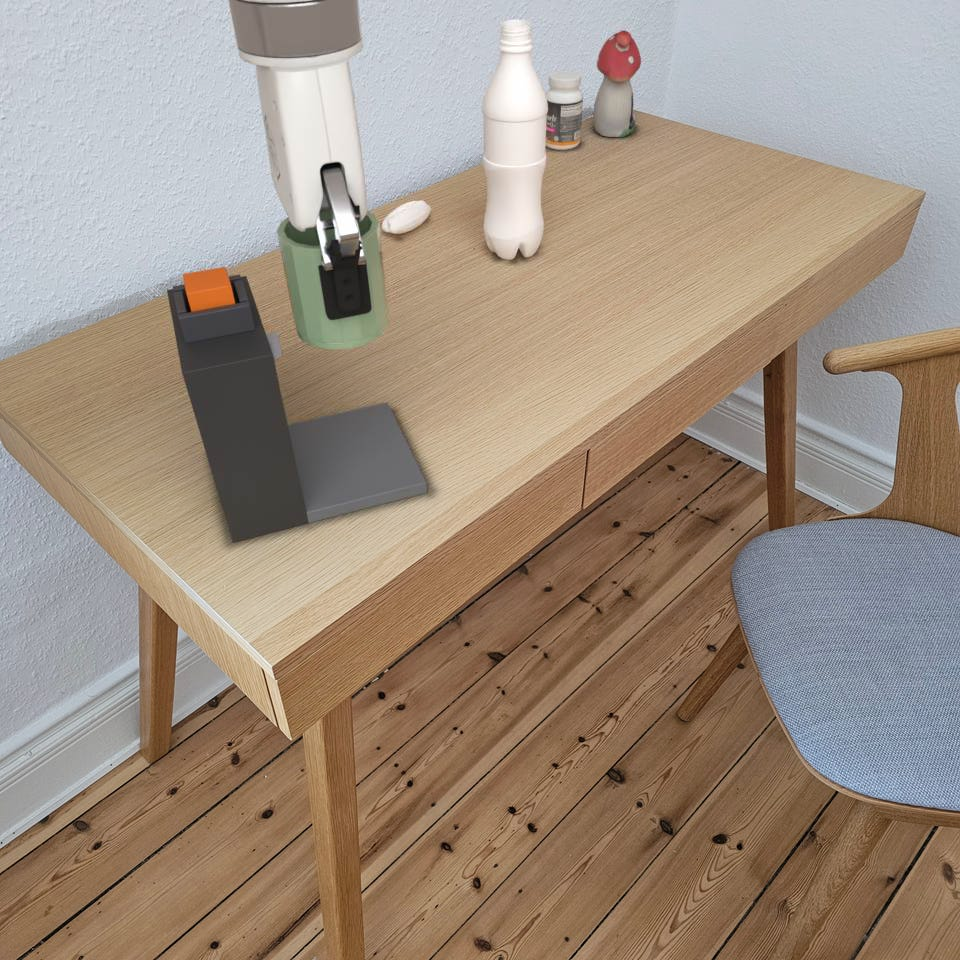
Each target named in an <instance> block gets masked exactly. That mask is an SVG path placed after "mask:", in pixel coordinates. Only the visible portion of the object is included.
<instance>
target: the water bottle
mask: <svg viewBox="0 0 960 960" xmlns="http://www.w3.org/2000/svg"><path fill="white" fill-rule="evenodd" d="M500 26H501V27H500V31H501V32H500V34H501V38H500V39H499V42H500V43H499V44H498V50H499V51H500V56H499V60H498V64H497V67H496V69H495V71H494V73H493V75H492V77H491V79H490V82H489V84H488V86H487V88H486V91H485V93H484V96H483V100H482V106H481V113H482V115H483V117H482V118H483V153H482V168H483V172H484V176H485V179H486V181H485V182H486V194H487V195H486V197H487V198H486V206H485V207H486V208H485V214H484V217H483V218H484V219H483V235H484V241H485V243H486V246H487V249H489V251H491V252H492V253H495V254H496V255H497V257H498V258H501V259H502V260H507V261H511V260H514V259H515V257H516V256H517V253H518V250H519V251H520V253H521V255H522V256H523V257H524V258H530V257H532V256H533V255H535V254H536V252H537V251H538V249H539V247H540V245H541V243H542V240H543V236H544V229H545V220H544V215H543V211H542V186H543V179H544V175H545V171H546V167H547V153H546V147H547V146H546V119H547V112H548V103H547V98H546V92H545V89H544V87H543V84H542V82H541V80H540V77H539V75H538V73H537V71H536V69H535V66H534V64H533V59H532V56H531V55H532V54H531V51H533V49H534V45H533V44H532V38H531V34H532V33H531V31H532V30H531V28H532V26H531V22H530V21H529V20H525V19H507V20H503V21H502V22H501V24H500Z"/></svg>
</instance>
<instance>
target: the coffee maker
mask: <svg viewBox="0 0 960 960" xmlns="http://www.w3.org/2000/svg"><path fill="white" fill-rule="evenodd" d="M228 276H229V280H230V283H231V286H232V291H233V295H234V299H235V303H236V304H232V305H226V306H221V307H216V308H210V309H205V310H200V311H194V312H191V308H190V305H189V301H188V297H187V294H186V289H185V285H184V283H183V284H178V285H173V286H172V288H170V289H167V290H166V295H167V299H168V304H169V309H170V314H171V320H172V326H173V331H174V337H175V342H176V348H177V353H178V359H179V363H180V364H179V365H180V369H181V374H182V377H183V381H184V384H185V387H186V391H187V395H188V397H189V401H190V404H191V408H192V410H193V411H192V412H193V414H194V417H195V421H196V424H197V428H198V431H199V434H200V438H201V440H202V444H203V447H204V451H205V455H206V458H207V461H208V464H209V468H210V471H211V474H212V477H213V478H212V479H213V481H214V484H215V487H216V491H217V494H218V497H219V501H220V504H221V507H222V511H223V514H224V518H225V521H226V524H227V527H228V531H229V534H230V535H229V536H230V538H231V540H232V543H233V544H234V543H238V542H241V541H246V540H250V539H254V538H257V537H261V536H265V535H268V534H273V533H277V532H281V531H285V530H288V529H293V528H297V527H301V526H305V525H308V524H309V523H310V524H311V523H314V522H319V521H323V520H326V519H331V518H334V517H337V516H342V515H346V514H351V513H353V512H358V511H362V510H366V509H369V508H373V507H377V506H381V505H385V504H389V503H393V502H398V501H400V500H405V499H409V498H413V497H417V496H419V495H424V494H427V493H428V485H427V481H426V478H425V477H424V475H423V473H422V470H421V468H420V466H419V464H418V462H417V460H416V458H415V456H414V454H413V452H412V450H411V448H410V446H409V444H408V441H407V439H406V437H405V435H404V433H403V431H402V429H401V428H400V425H399V423H398V421H397V419H396V417H395V416H394V413H393V411H392V409H391V407H390V405H389V402H382V403H378V404H377V403H376V404H373V405H369V406H363V407H361V408H360V407H359V408H355V409H351V410H347V411H343V412H338V413H333V414H330V415H324V416H320V417H315V418H311V419H307V420H302V421H299V422H293V423H288V419H287V414H286V410H285V404H284V401H283V395H282V391H281V386H280V382H279V377H278V376H279V375H278V372H277V367H276V362H275V360H277V359H281V358H282V356H283V354H284V352H283V349H282V343H281V338H280V335H279V334H278V333H276V332H269V333H266V330H265V327H264V324H263V321H262V319H261V316H260V315H261V314H260V312H259V308H258V305H257V303H256V300H255V297H254V294H253V292H252V288H251V285H250V281H249V280H248V276H247V275H241V274H240V273H239V274H234V275H228Z"/></svg>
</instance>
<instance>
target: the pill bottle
mask: <svg viewBox="0 0 960 960" xmlns="http://www.w3.org/2000/svg"><path fill="white" fill-rule="evenodd" d="M581 84H582V75H581V73H580V72H578V71H574V70H567V69H566V70H565V69H564V70H554V71H552V72H550V73H549V74H548V86H549V89H548V90H546V92H545V94H546V98H547V103H548V112H547V119H546V146H545V147H547V148H549V149H552V150H559V151H565V150H571V149H575V148H576V147H578V146H579V145H580V144H581V135H582V119H583V105H584V94H583V92H582V90H581V89H579V87H580V86H581Z"/></svg>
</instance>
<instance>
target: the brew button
mask: <svg viewBox="0 0 960 960" xmlns="http://www.w3.org/2000/svg"><path fill="white" fill-rule="evenodd" d="M229 276H230V275H229V274H228V269H227V267H226V266H222V267H216V268H210V269H204V270H199V271H193V272H188V273H182V279H183V284H184V285H185V289H186V294H187V297H188V301H189V305H190V308H191V312H194V311H200V310H205V309H210V308H216V307H221V306H226V305H232V304H236V303H235V299H234V295H233V291H232V286H231V283H230V280H229Z"/></svg>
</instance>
